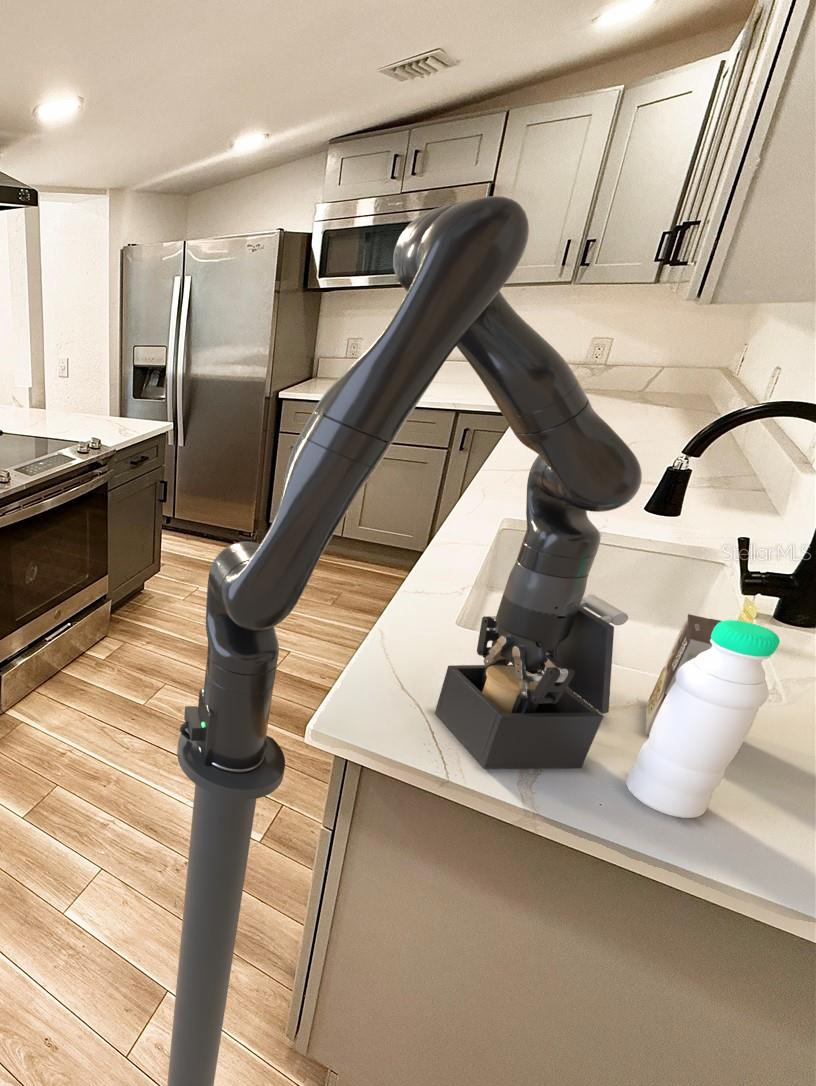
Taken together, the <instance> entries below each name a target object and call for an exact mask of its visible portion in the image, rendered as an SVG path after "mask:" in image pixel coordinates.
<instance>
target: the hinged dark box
mask: <svg viewBox="0 0 816 1086" xmlns="http://www.w3.org/2000/svg"><path fill="white" fill-rule="evenodd" d="M508 665H509V666H513V667H514V665H513V664H508ZM484 669H485V665H484V664H468V665H467V664H465V665H464V664H463V665H462V664H461V665H460V664H459V665H458V664H457V665H455V664H453V665H447V668H446V671H445V675H444V678H443V682H442V685H441V689H440V693H439V695H438V700H437V703H436V707H435V710H434V715H435V716H436V717H437V718H438V719H439V720H440V721H441V722H442V723H443V725H445V727H446V728H447V729H448V731H450V733H451V734H452V735H453V736H454V737H455V738H456V740H458V741H459V743H460V744H461V745H462V746H463V747H464V748H465V749H466V750H467V752H468V753H469V754H470V755H471V756H472V757H473V759H475V761H476V762H477V763H478V764H479V766H480V767H482V769H484V770H487V769H490V770H491V769H495V770H497V769H498V770H499V769H502V770H504V769H506V770H507V769H508V770H509V769H514V770H515V769H516V770H517V769H519V770H521V769H582V768H583V765H584V763H585V760H586V758H587V756H588V754H589V751H590V749H591V747H592V745H593V742H594V740H595V737H596V735H597V733H598V730H599V728H600V726H601V723H602V721H603V719H604V715H603V714H601V713H600V712H599V711H598V710H596V709H595V708H594V707H592V706H591V705H590V704H589V703H587V702H586V701H585V700H584V699H582V698H581V697H580V696H579V695H577V694H576V693H575V692H572V691H571V690H570V689H568V688H567V687H566V689H565V691H564V692H563V694H562V695H561V697H560V699H559V700H558V702H557V703H556V704H550V703H540V704H538V707H537V709H536V712H535V713H503V712H502V711H501V710H500V709H499V708H498V707H497V706H495V705H494V704H493V703H492V702H491V701H490V700H489V699H488V698H487V697H486V696H485V695H484V694H483V693H482V691H483V689H482V688H481V686H480V685H481V679H482V676H483V672H484ZM527 672H529V673H531V674H536V673H537V672H538V670H535V671H527ZM548 693H549V692H548Z"/></svg>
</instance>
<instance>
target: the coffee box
mask: <svg viewBox="0 0 816 1086" xmlns="http://www.w3.org/2000/svg"><path fill="white" fill-rule="evenodd" d="M721 621H722V620H720V619H715V618H708V617H704V616H699V615H695V614H694V615H693V614H690V613H688V614H687V615H686V617H685V619H684V622H683V624H682V626H681V627H680V630H679V632H678V634H677V635H676V639H675V641H674V643H673V646H672V648H671V650H670V652H669V654H668V656H667V659H666V660H665V663H664V665H663V667H662V670H661V671H660V674H659V676H658V678H657V680H656V683H655V686H654V687H653V689H652V692H651V694H650V696H649V698H648V700H647V703H646V705H645V731H644V733H645V735H647V736H649V734H650V731H651V728H652V726H653V723H654V721H655V718H656V716H657V714H658V712H659V709H660V707H661V705H662V703H663V701H664V699H665V697H666V696H667V694H668V692H669V690H670V689H671V687H672V686H673V684H674V683H675V681H676V673H677V671H678V669H679V668H680V667H681V666H682V665H683V664H685V663H686V662H688V661H690V660H691V659H693V658H696V656H697V655H699V654H700V653H702V652H704V651H707V650H709V649H710V648H711V647H712V644H711V642H710V639H711V634H712V631H713V629H714V628H715V626H716V625H717V624H718V623H719V622H721Z"/></svg>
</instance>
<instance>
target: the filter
mask: <svg viewBox="0 0 816 1086" xmlns="http://www.w3.org/2000/svg"><path fill="white" fill-rule="evenodd" d="M509 665H510V664H508V665H492V666H490V667H488V668H487V670H486V676H487V679H486V682H485V685H484V688H483V691H482V693H483V694H484V695H485V696H486V697H487V698H488V699H489V700H490V701H491V702H492V703H493V704H494V705H495V706H497V707H498V708H499V709H500V710H501V711H502V712H503V713H511V712H512V710H513V707H514V704H515V701H516V698H517V695H520V693H519V680H517V679H516V678H515V667H513V666H509ZM526 674H531V673H529V672H527V671H526ZM530 689H535V681H532V682H530Z"/></svg>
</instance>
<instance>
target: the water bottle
mask: <svg viewBox="0 0 816 1086" xmlns="http://www.w3.org/2000/svg"><path fill="white" fill-rule="evenodd" d="M720 621H721V622H719V623H718V624H717V625H716V626H715V628H714V629H713V631H712V634H711V639H710V642H711V644H712V647H711V648H710V649H709V650H707V651H704V652H702V653H700V654H699V655H697V656H696V658H693V659H691V660H690V661H688V662H686V663H685V664H683V665H682V666H681V667H680V668H679V669H678V671H677V673H676V681H675V683H674V684H673V686H672V687H671V689H670V690H669V692H668V694H667V696H666V697H665V699H664V701H663V703H662V705H661V707H660V709H659V712H658V714H657V716H656V718H655V721H654V723H653V726H652V728H651V731H650V734H649V735H648V738H647V739H646V740H645V742H644V743H643V744H642V746H641V748H640V750H639V752H638V755H637V759H636V762H635V763H634V764H633V766H632V767H631V768H630V770H629V772H628V774H627V776H626V779H625V780H626V781H625V784H626V787H627V789H628V791H629V792H630V793H631V795H633V796H634V797H635V798H636V799H637V800H638V801H639V802H641V803H642V804H644V805H645V806H647V807H649V808H650V809H653V810H655V811H657V812H659V813H661V814H665V815H668V816H671V817H675V818H681V819H695V818H698V817H701V816H702V815H704V813H705V812H706V810H707V809H708V807H709V805H710V803H711V800H712V797H713V793H714V792H715V791H716V790H717V789H718V787H719V786H720V784H721V783H722V781H723V779H724V776H725V773H726V769H727V767H728V766H729V765H730V764H731V762H732V761H733V759H734V758H735V756H736V755H737V753H738V751H740V748H741V747H742V746H743V743H744V741H745V740H746V738H747V736H748V734H749V733H750V730H751V728H752V726H753V724H754V722H755V720H756V717H757V715H758V712H759V709H760V708H761V707H762V706H763V705H765V704H766V702H767V701H768V698H769V694H770V693H769V692H770V691H769V686H768V682H767V680H766V671H765V669H764V667H763V663H762V662H763V661H764V660H768V659H770V658H771V657H772V655H773V654H774V653H775V652H776V651H777V649H778V647H779V645H780V642H781V640H780V637H779V636H778V634H777V633H775V632H774V631H773V630H771V629H769V628H767V627H764V626H763V625H762V626H761V625H759V624H757V623H752V622H748V621H743V620H735V619H724V620H720Z"/></svg>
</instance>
